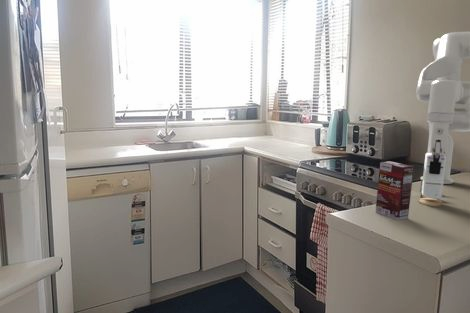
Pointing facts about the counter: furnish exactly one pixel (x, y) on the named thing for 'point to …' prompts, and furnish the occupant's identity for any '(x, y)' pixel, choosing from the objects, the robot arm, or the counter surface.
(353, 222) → the counter surface
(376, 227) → the counter surface
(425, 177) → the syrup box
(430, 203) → the disc
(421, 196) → the cradle
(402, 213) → the supplement box
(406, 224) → the counter surface
